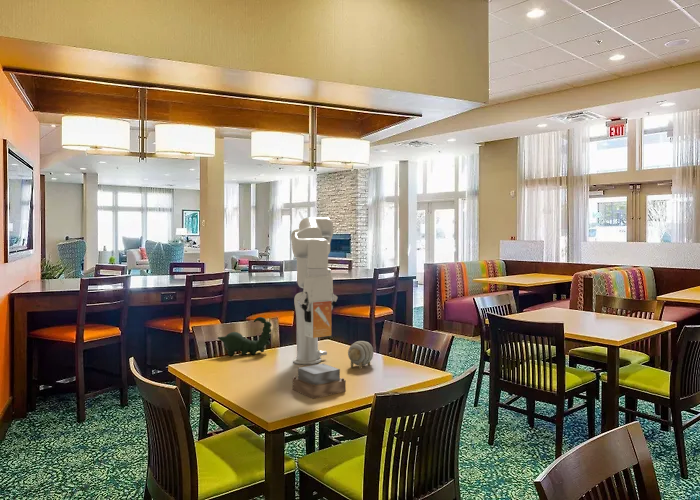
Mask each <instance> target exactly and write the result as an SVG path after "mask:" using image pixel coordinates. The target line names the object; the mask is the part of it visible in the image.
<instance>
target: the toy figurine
mask: <svg viewBox="0 0 700 500" xmlns="http://www.w3.org/2000/svg"><path fill="white" fill-rule="evenodd" d="M256 322H260V323H262V324H263V327H262V333H261V334H260V337H259V339H257V340H254V339H253V340H250V339H249V338H246V337H245V338H244V336H243V334H241V333H239V332H238V331H231V332H229V333H228V334H226V335H225V336H218V337H217V339H218V340H219V341H221V342H222V343H223V345H224V348H225V349H226V350H227V355H228V356H234V354H235V353H236V352H241V354H242V355H243V356H246V355H247V354H248V353H249V354H251V355H252V356H255V355H256V353H257V352H261V353H264V351H265V346H270V345H271V342H270V340H269V339H271V338H272V336H271V335H270V333H271V332H272V329H271V327H272V325H273V324H272V323H271V321H267V320H266V318H265V317H262V316H259V317H256V318H255V319H253V323H256Z"/></svg>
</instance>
